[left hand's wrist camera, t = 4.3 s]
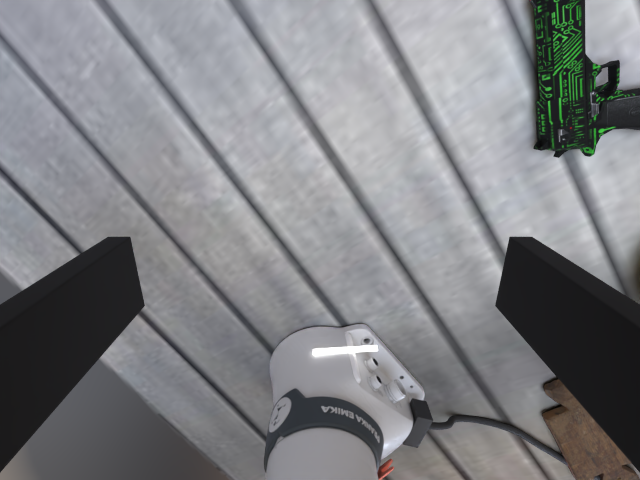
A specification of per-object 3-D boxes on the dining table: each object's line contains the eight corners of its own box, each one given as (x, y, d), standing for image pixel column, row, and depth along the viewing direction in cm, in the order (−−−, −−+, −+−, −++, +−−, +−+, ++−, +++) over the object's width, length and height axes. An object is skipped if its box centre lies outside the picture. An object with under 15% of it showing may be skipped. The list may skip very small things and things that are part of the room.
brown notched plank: (580, 491, 58) (641, 468, 56) (587, 502, 57) (651, 479, 55) (528, 389, 50) (598, 359, 48) (535, 399, 48) (607, 368, 47)
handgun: (686, 141, 35) (535, 170, 36) (658, 139, 38) (519, 166, 38) (718, -54, 30) (539, -17, 30) (683, -40, 32) (520, -6, 33)
